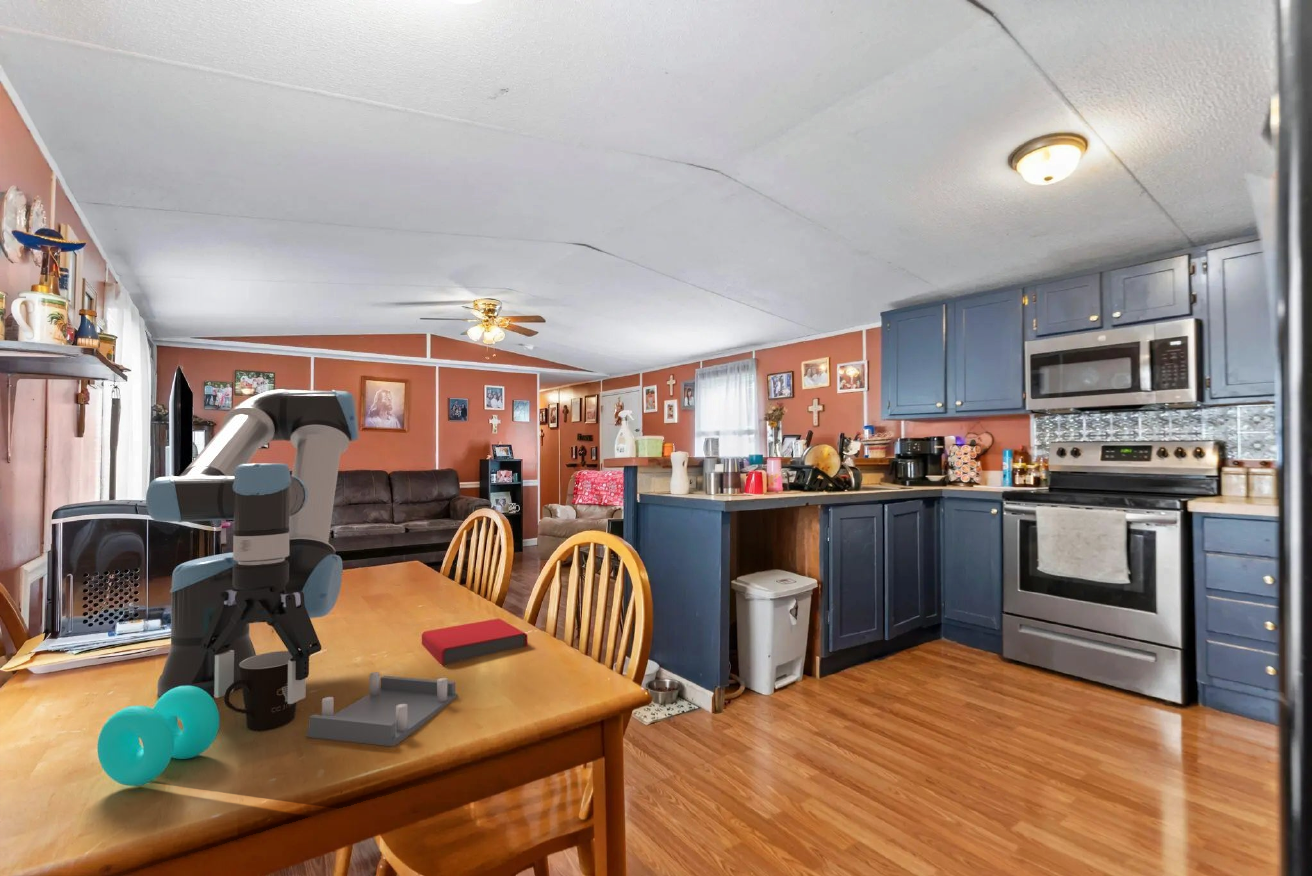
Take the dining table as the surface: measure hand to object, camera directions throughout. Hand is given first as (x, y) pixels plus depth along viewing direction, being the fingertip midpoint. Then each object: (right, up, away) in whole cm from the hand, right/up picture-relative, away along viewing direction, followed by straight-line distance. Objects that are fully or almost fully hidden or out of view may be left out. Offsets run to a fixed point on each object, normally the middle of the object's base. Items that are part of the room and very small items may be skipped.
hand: (259, 697), depth 96 cm
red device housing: (+24, -6, +34) cm, 42 cm away
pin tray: (+18, -5, +3) cm, 19 cm away
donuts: (-5, -5, -13) cm, 15 cm away
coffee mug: (0, -5, 0) cm, 5 cm away
